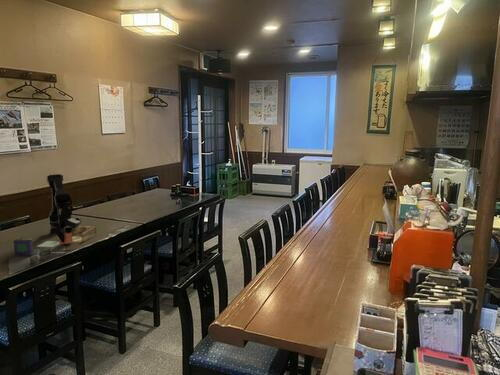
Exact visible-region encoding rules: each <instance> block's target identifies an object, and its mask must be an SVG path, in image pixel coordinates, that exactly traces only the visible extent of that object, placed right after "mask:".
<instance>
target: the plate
mask: <svg viewBox="0 0 500 375" xmlns="http://www.w3.org/2000/svg"><path fill="white" fill-rule="evenodd" d="M58 245H61V243H59V241H58V240H46V241H44V242H43V243H41V244H38V245H37V246H36V247H37V248H38V247H39V248H54V247H56V246H58Z"/></svg>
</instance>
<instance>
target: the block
mask: <svg viewBox="0 0 500 375" xmlns="http://www.w3.org/2000/svg"><path fill="white" fill-rule="evenodd" d="M72 241H73V240H72V233H65V234H64V242H61V240H60V239H59V243H60V245H61V244H67V245H68V244H70V243H71V242H72Z"/></svg>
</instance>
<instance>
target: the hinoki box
mask: <svg viewBox="0 0 500 375" xmlns="http://www.w3.org/2000/svg"><path fill="white" fill-rule="evenodd" d="M71 233H72V240H73V241H72V242H75V243H77V242H78V243H84V242H86V241H88V240H89V239H91V238H93V237H94V236H96V235H97V227H96V226H84V225H81V226H80V225H79V227H76V228H74V229H72V232H71ZM56 237H57V238H56V239H57V241H59V237H58V236H57V235H56Z"/></svg>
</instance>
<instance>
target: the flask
mask: <svg viewBox="0 0 500 375" xmlns="http://www.w3.org/2000/svg"><path fill="white" fill-rule="evenodd" d="M13 246H14V247H13V249H14V257H31V256H34V248H33V247H34V246H33V239H32V238H25V236H24V235H23V236H20V237H19V238H15V239H13Z"/></svg>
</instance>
